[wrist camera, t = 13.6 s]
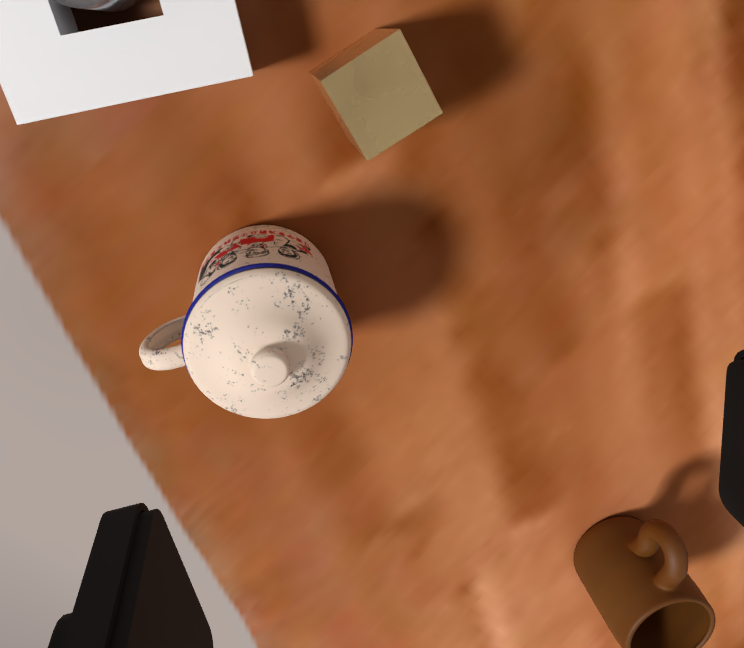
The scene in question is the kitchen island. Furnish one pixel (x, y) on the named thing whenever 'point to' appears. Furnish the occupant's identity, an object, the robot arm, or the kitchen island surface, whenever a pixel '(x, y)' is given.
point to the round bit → (99, 4)
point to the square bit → (376, 91)
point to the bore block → (114, 55)
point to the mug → (643, 584)
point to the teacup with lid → (259, 326)
